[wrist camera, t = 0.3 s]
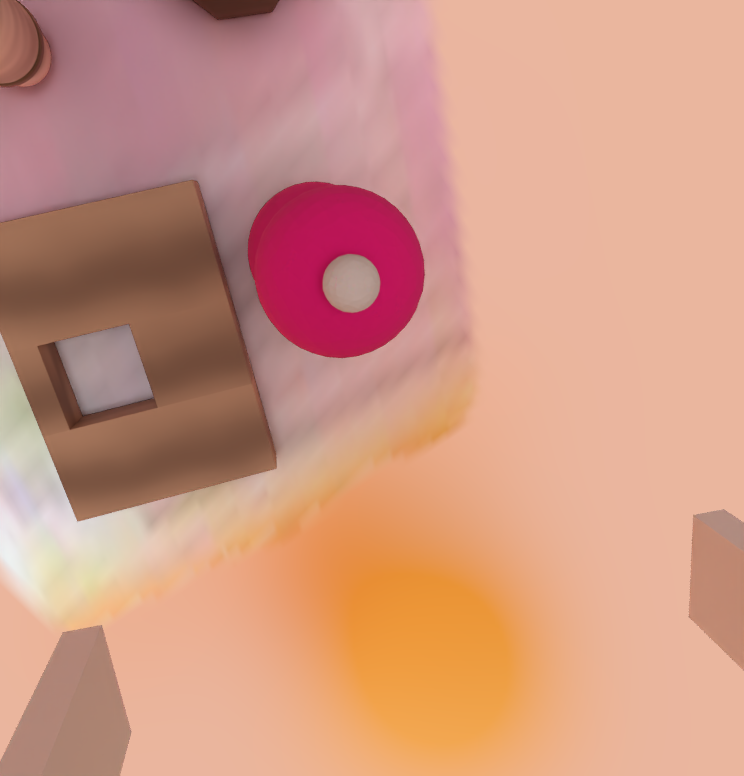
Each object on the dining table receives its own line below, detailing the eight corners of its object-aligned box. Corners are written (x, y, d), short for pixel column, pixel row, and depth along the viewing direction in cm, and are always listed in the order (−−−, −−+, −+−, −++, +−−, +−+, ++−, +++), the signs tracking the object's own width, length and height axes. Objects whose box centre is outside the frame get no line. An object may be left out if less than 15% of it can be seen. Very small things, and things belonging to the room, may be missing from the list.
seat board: (-19, 230, 34) (-41, 232, 32) (197, 182, 36) (192, 179, 33) (89, 502, 40) (77, 521, 37) (276, 453, 41) (276, 468, 38)
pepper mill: (394, 266, 39) (515, 319, 19) (296, 332, 39) (321, 448, 20) (328, 160, 36) (393, 102, 17) (225, 230, 36) (175, 249, 17)
